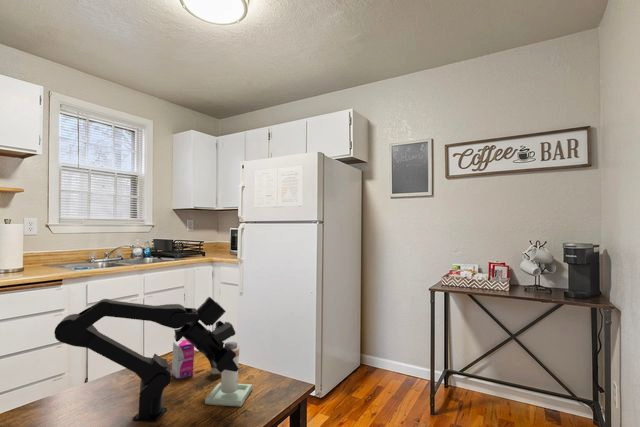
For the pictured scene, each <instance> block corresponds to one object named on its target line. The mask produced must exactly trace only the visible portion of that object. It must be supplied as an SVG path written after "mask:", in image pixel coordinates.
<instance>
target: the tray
mask: <svg viewBox="0 0 640 427" xmlns="http://www.w3.org/2000/svg"><path fill="white" fill-rule="evenodd" d="M252 390H253V384H252V383H251V384H249V383H238V389H237V391H236V392H233V393H223V392H221V381H220V382H218V384H217V385H216V386H215V387H214V388H213V389H212V391H211V392H210V393H209V394H208V395H207V396H206V397H205V399H204V405H212V406H226V407H240V408H241V407H242V406H243V404H244V403H245V401H246V400H247V398H248V396H249V395H250V394H251V392H252Z"/></svg>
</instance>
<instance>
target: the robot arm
mask: <svg viewBox="0 0 640 427" xmlns="http://www.w3.org/2000/svg"><path fill="white" fill-rule="evenodd" d="M225 313H226V310H225V309H224V308H223V306H222V305H220V303H218V302H217V301H215V300H214V299H213V298H212V297H211V296H208V297H207V298H206V299H205V300H204V302H203V303H202V304H201V305H200V306H199V307H197V308H193V307H184V305H182V304H181V303H173V304H172V303H171V304H169V303H168V304H160V305H152V304H151V305H150V304H143V303H135V302H126V301H120V300H111V299H109V298H103V299H100V300H99V301H98V302H96V303H95V304H93V305H92V306H89V307H87V308H85V309H84V310H82V311H80V312H79V313H72V314H69V315H66V316H65V317H64V318H63V319H61V321H60V322H59V323H58V324H57V325H56V327H55V329H54V332H53V333H54V338H55V339H56V340H57V342H59V343H63V344H66V345H68V346H72V347H79V348H85V349H88V350H91V351H93V352H94V353H97V355H101V356H102V357H104V358H107V359H108V360H110V361H112V362H114V363H116V364H118V365H119V366H121V367H123V368H125V369H127V370H129V371H131V372H132V373H134V374H136V376H137V377H138V378H139V379H140V382H139V392H138V393H139V397H138V398H139V399H138V412H137V413H136V414H135V415H134V416H133V417H132V420H133V421H142V422H143V421H145V422H157V420H158V419H160V418H161V416H163V414H164V413H166V412H167V410H168V407H165V406H163V399H164V398H163V394H164V393H163V392H164V389H166V388H167V387H168V386H169V385H170V383H171V380H172V370H171V366H170V364H169V362H168V360H167V358H162V357H160V356H159V355H158V354H157V353H154V354H153V355H152V357H146V356H145V355H144V356H143V355H142V354H140V353H138V352H136V351H135V350H133V349H131V348H129V347H128V346H126V345H123V344H121V343H120V342H118V341H116V340H114V339H113V338H111V337H109V336H107V335H105V334H104V333H101V332H100V331H99V330H98V329H97V328H96V327H95V326H94V324H95V323H97V322H98V321H100V320H101V319H103V318H104V317H108V318H109V317H110V318H120V319H127V320H137V321H138V320H139V321H145V322H146V321H148V322H153V323H156V324H158V325H160V326H163V327H166V328H170V329H174V339H175V342H178V341H181V339H184V340H187V341H189V342H190V343H191V344H192V345H193V346H194V349H196V350H197V351H199V352H200V353H201V354H202V355H204V356H205V357H206V358H207V360H208V359H209V360H213V365H214V367H215V368H216V369H217V370H218V372H220V373H222V372H223V371H224V370H229V371H234V372H237V371H238V372H239V366H238V367H237V365H236V364H235V362H234V361H233V359H234V357H235V356H236V353H235V352H234V351H232V350H231V349H230V348H229V347H224V348H223V346H225V341H226V340H228V339H230V338H231V337H234V336H235V335H236V334H237V333H236V330H235V328H234V326H233V324H232V323H230V322H229V321H225V322H223V321H221V320H219V319H220V318H221V317H223V315H224V314H225ZM199 321H200V322H199ZM201 323H202V324H201ZM203 324H204V325H203ZM214 324H215V327H214V329H213V330H212V331H211V330H210V329H207V327H208V326H209V327H210V326H214ZM205 326H206V327H205ZM209 360H208V361H209Z"/></svg>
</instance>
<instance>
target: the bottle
mask: <svg viewBox="0 0 640 427" xmlns="http://www.w3.org/2000/svg"><path fill="white" fill-rule="evenodd" d="M224 347H229V348H230V349H231V350H232V351H234V352H235V353H236V356H235V357H234V359H233V361H234V362H235V364H236V365H237V367H238V368H239V359H240V358H239V357H240V346H239V345H238V342H235V341H230V342H226V343H225V342H224V345H223V348H224ZM220 377H221V380H220V383H221V392H223V393H233V392H236V391H237V389H238V384H239V383H238V382H239V370H238V371H237V372H234V371H229V370H224V371H223V372H221V376H220Z"/></svg>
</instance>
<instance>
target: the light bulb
mask: <svg viewBox="0 0 640 427" xmlns="http://www.w3.org/2000/svg"><path fill="white" fill-rule="evenodd" d="M207 361H208V362H209V364H210V369H211V370H210V371H211V374H212V375H214V376H215V375H217V374H218V373H219V370H217V369H216V368H215V367H214V365H213V360H209V359H208V358H207Z"/></svg>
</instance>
